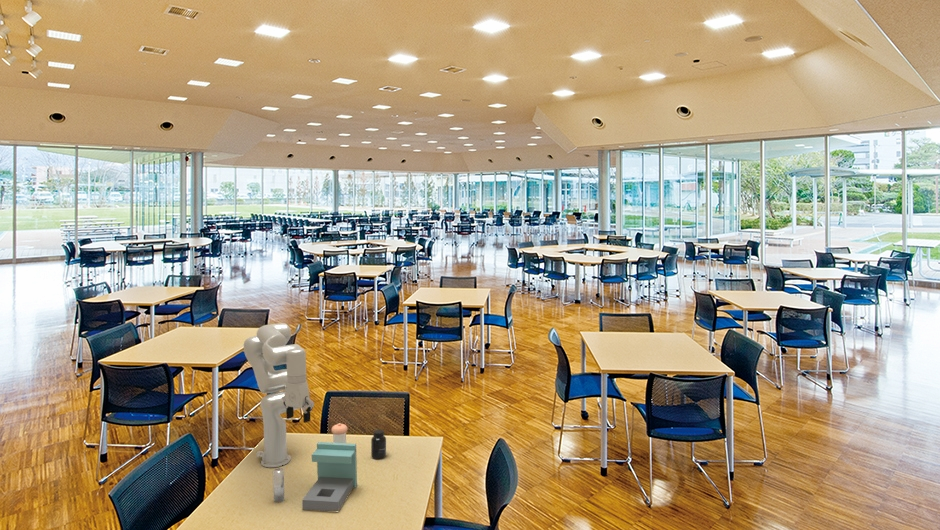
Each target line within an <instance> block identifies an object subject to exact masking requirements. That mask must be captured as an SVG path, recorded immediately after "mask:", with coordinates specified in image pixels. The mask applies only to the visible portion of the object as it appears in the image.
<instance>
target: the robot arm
mask: <svg viewBox="0 0 940 530" xmlns="http://www.w3.org/2000/svg"><path fill="white" fill-rule="evenodd" d="M291 337H292V330H291V327H290V326H289V325H288V324H287V323H285V322H278V323H272V324H271V323H270V324H265V325H262V326H260V327H258V329H257V331H256V335H253V336H250V337H247V338H246V339H245V340H244V342H243V353H244V355H245V358H246V360H247V362H248V363H249V365H250V366H251V368H252V369H253V373H254V377H255V380H256V382H257V383H256V384H257V387H258V389H259V391H260V392H261V393H262V394H266V395H265V396H263V397H262V398H261V399H260V410H261V416H262V422H263V446H264V447H263V449H264V450H257V452H256V458H262V459H261V461H260V463H261V466H263V467H265V468H270V469H271V468H277V467H279V468H280V467H283V466H285V465H286V464H288V463H290V461H291V455H290V454H288V448H287V444H288V443H287V441H288V440H287V422H286V420H285V419H284V418H283V417H282V416H281V414H284V413H286V419H288V420H289V419H291V418H293V417H294V416H295V415H294V413H295V412H294V411H296V410H300V409H302V411H303V412H302V417H303V423H305V424H306V423H308V422H311V412H312V410H313V408H314V405H315V402H314V401H313V400H312V399H311V398H310V396H311V395H310V390H309V389H310V388H309V384H308V380H307V359H306V358H307V357H306V356H307V353H306V350H305V348H303V347H301V345H300V344H297V343H294V344H288V342H289V340H290V339H291ZM282 365H286V368H285V369H284V368H282V369H278V370H275V368H274V367H275V366H282ZM282 465H283V466H282Z"/></svg>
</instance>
